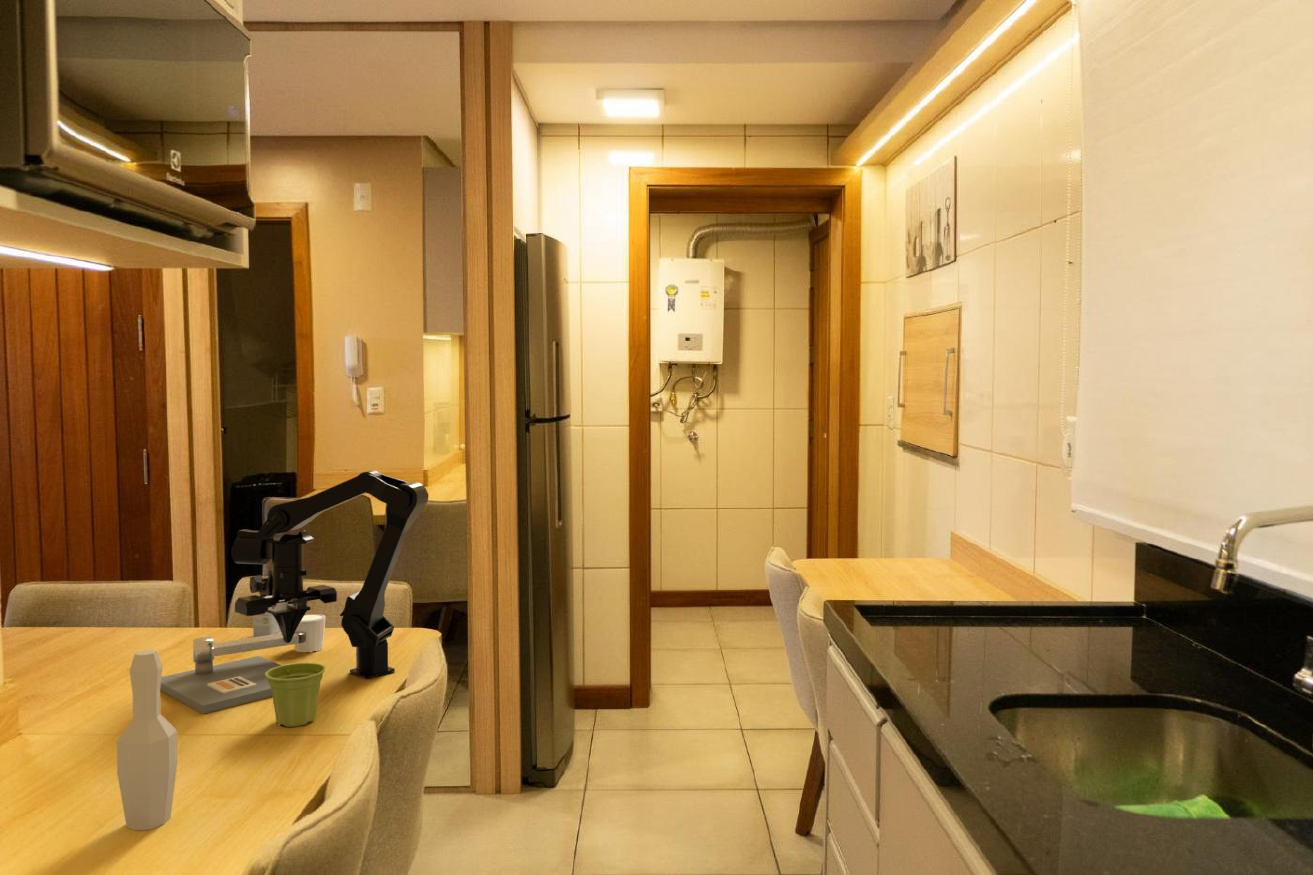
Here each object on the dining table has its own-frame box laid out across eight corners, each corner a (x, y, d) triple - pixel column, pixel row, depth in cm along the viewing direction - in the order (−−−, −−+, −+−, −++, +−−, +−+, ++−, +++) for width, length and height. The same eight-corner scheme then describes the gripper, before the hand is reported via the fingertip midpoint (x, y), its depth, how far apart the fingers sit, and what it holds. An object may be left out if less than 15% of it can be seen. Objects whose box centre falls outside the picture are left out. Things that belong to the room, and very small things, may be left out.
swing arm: (195, 664, 167) (195, 643, 167) (191, 659, 170) (191, 638, 170) (308, 646, 180) (308, 626, 179) (303, 642, 183) (303, 622, 183)
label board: (312, 685, 167) (312, 667, 167) (203, 714, 152) (202, 694, 151) (258, 663, 181) (258, 646, 181) (153, 686, 166) (153, 668, 166)
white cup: (318, 653, 188) (318, 621, 188) (286, 653, 188) (286, 621, 188) (330, 644, 195) (330, 613, 194) (300, 644, 195) (299, 613, 195)
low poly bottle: (107, 831, 110) (104, 657, 109) (146, 808, 117) (143, 644, 116) (151, 836, 109) (148, 661, 108) (188, 813, 115) (185, 647, 114)
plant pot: (266, 715, 151) (266, 665, 151) (325, 708, 155) (324, 659, 154) (264, 734, 143) (263, 681, 142) (326, 726, 146) (326, 675, 146)
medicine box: (272, 630, 207) (272, 594, 206) (290, 631, 206) (289, 594, 206) (252, 639, 199) (252, 601, 198) (271, 640, 198) (270, 602, 198)
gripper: (311, 554, 188) (311, 627, 188) (222, 565, 174) (222, 644, 174) (339, 561, 181) (338, 636, 181) (248, 573, 167) (248, 654, 167)
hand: (287, 642), depth 176 cm, fingers closed
